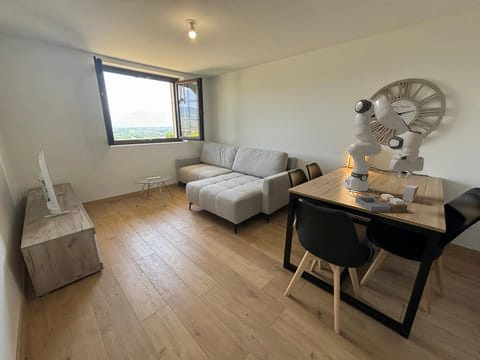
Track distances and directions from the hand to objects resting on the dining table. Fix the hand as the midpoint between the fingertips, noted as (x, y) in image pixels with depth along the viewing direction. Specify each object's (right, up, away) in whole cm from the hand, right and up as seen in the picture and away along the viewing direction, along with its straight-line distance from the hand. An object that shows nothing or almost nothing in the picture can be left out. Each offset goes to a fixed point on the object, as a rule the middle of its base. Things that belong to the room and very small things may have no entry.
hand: (403, 177), depth 130 cm
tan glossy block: (-9, -19, +1) cm, 21 cm away
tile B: (-8, -17, -4) cm, 19 cm away
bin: (-21, -19, +1) cm, 28 cm away
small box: (+15, -17, +13) cm, 26 cm away
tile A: (-8, -15, +4) cm, 17 cm away
